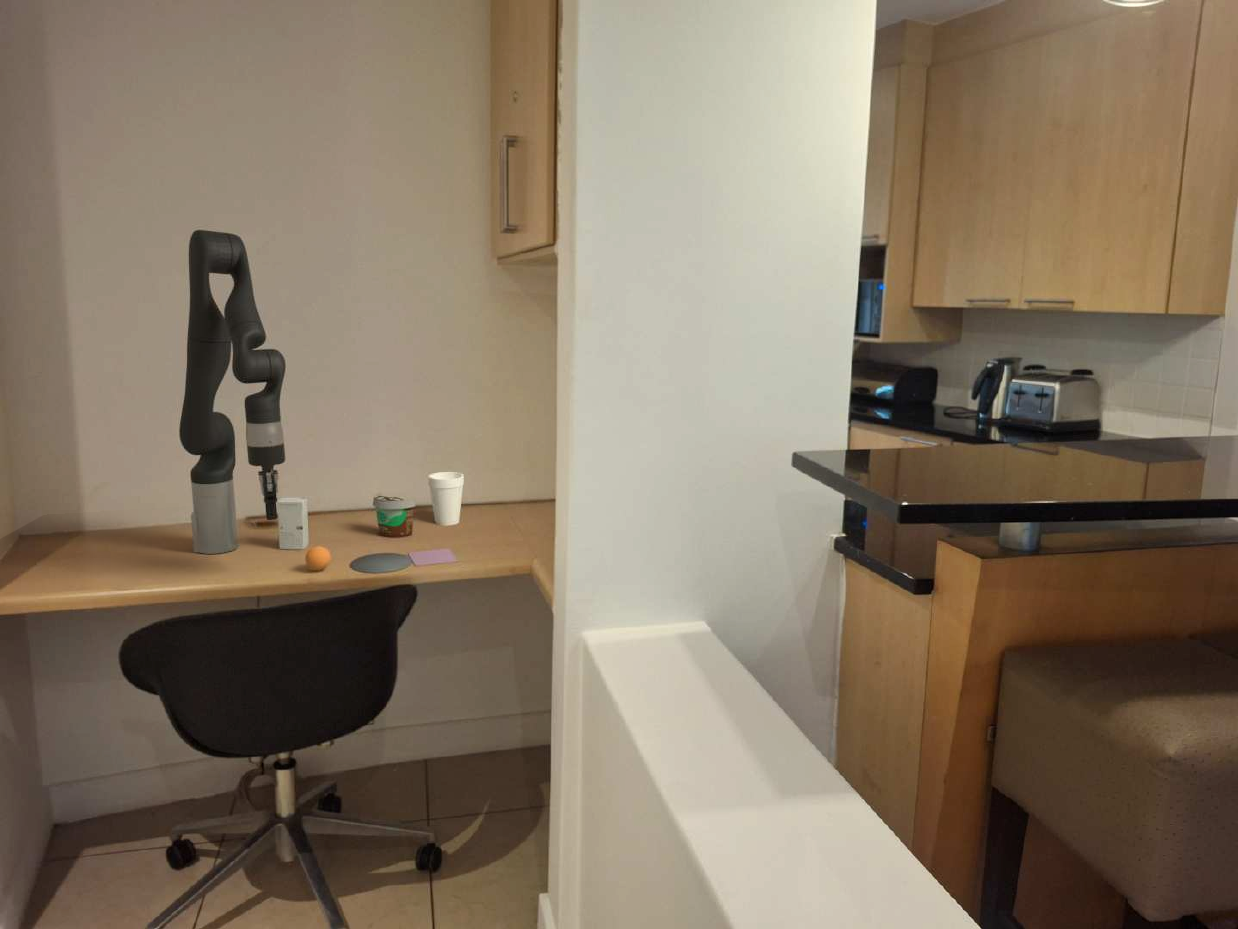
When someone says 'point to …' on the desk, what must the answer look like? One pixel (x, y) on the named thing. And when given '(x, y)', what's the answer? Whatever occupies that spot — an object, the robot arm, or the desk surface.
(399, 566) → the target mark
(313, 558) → the ball
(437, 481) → the foam cup
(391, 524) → the food container
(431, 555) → the far mark
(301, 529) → the white box
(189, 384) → the robot arm
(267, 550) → the desk surface
